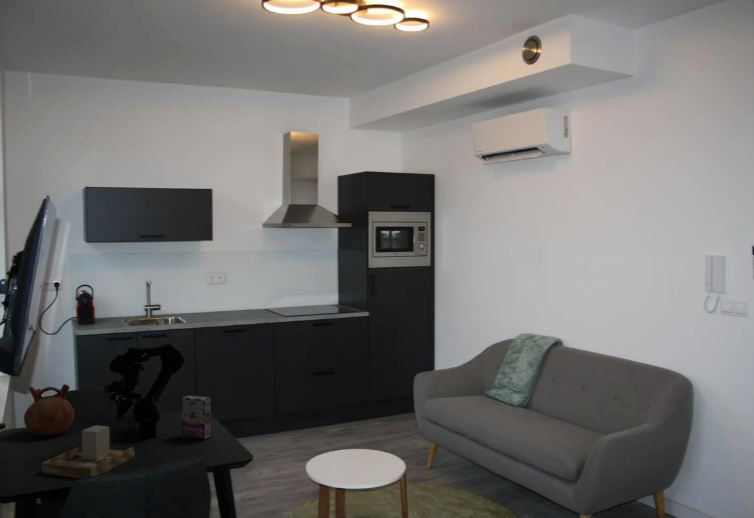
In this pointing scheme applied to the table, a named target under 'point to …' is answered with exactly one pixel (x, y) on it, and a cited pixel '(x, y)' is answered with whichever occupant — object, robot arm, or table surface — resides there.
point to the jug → (49, 413)
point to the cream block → (95, 442)
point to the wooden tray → (85, 463)
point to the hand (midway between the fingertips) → (118, 419)
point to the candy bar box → (196, 417)
